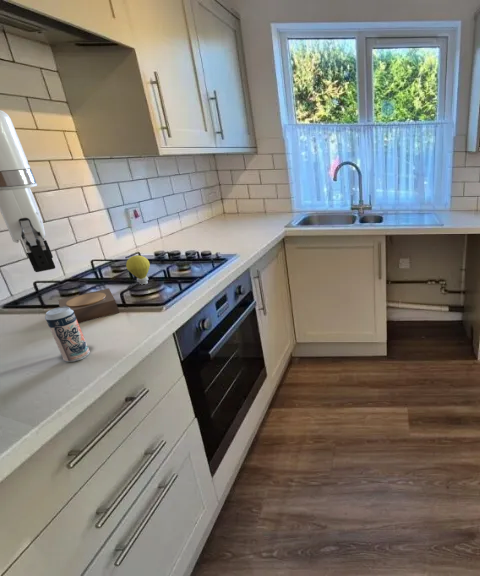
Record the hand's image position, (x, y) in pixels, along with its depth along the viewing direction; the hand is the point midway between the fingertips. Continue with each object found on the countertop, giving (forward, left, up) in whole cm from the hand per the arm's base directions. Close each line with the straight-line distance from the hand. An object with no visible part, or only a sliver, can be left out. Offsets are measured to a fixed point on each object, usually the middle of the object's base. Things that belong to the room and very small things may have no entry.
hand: (44, 264), depth 76 cm
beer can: (-1, -2, -22) cm, 22 cm away
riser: (+4, +25, -22) cm, 34 cm away
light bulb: (+20, +40, -22) cm, 50 cm away
